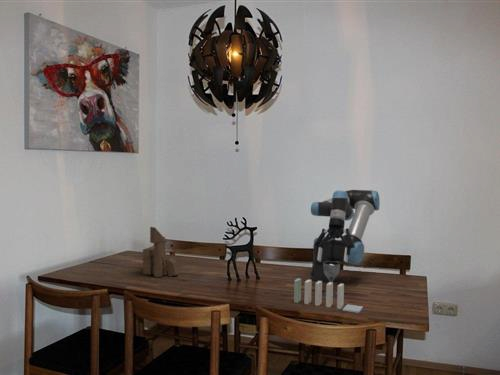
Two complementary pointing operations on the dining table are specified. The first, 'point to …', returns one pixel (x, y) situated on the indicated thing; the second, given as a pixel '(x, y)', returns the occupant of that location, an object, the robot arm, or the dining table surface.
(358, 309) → the coaster
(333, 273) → the wine glass
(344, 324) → the dining table surface
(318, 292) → the domino
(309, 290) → the domino
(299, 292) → the domino
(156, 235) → the wooden blocks
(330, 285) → the domino
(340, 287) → the domino
